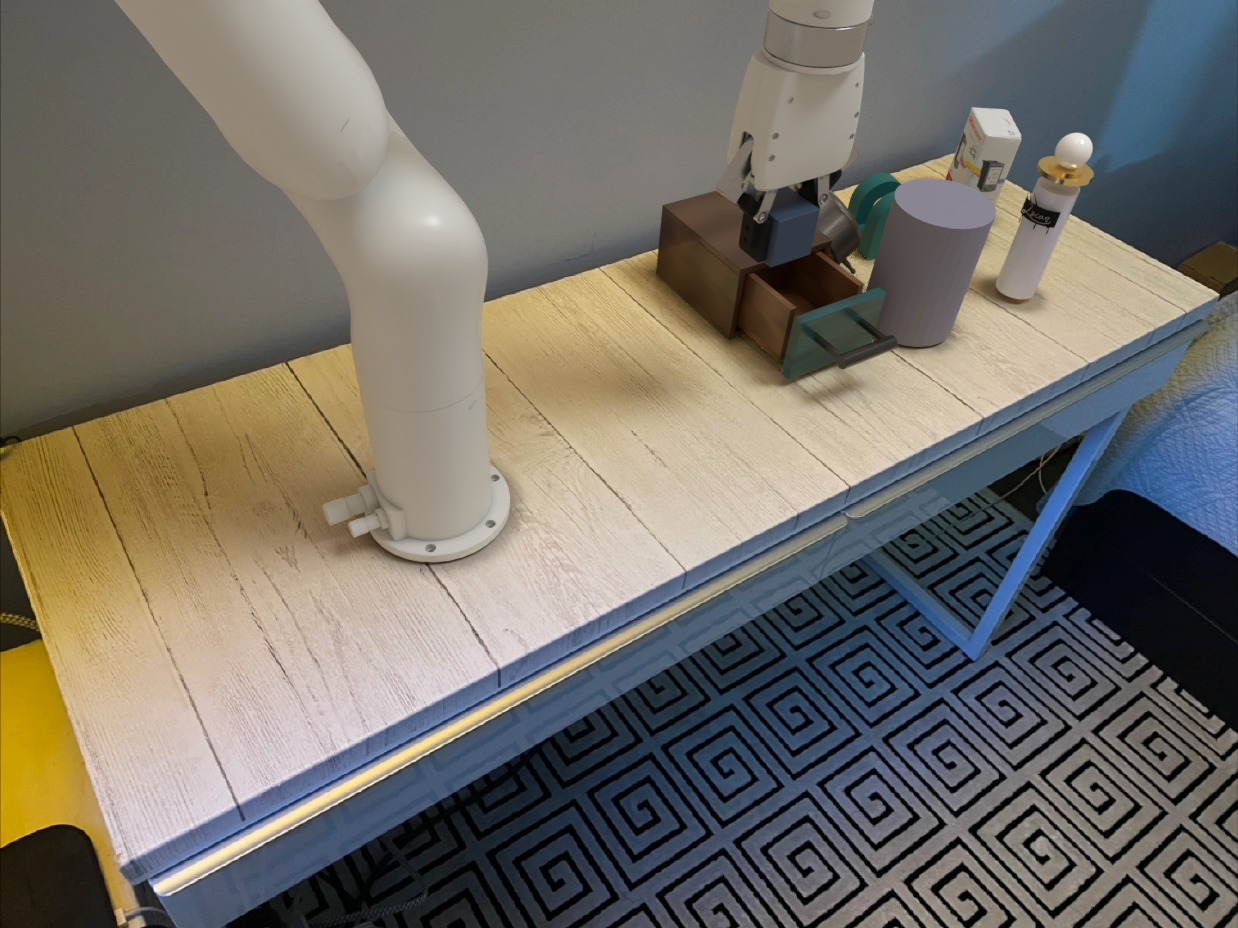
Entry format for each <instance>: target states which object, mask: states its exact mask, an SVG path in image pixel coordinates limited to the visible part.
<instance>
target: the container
mask: <svg viewBox="0 0 1238 928" xmlns="http://www.w3.org/2000/svg"><path fill="white" fill-rule="evenodd" d="M996 215H997V210H996V205H995V206H994V205H993V203H992V202H991V201H990V200H989V199H988V198H987V197H986V196H985V195H983V194H982V193H980V192H979V191H977V190H975V189H973V188H971V187H968V186H966V185H963V184H960V183H957V182H953V181H948V180H945V179H942V178H929V177H927V178H917V179H916V178H915V179H911V180H908V181H905V182H903V183H901V185H900V186H899V187H898V188H897V189H896V191H895V194H894V197H893V200H892V204H891V207H890V211H889V214H888V218H887V221H886V224H885V228H884V231H883V235H882V238H881V242H880V245H879V248H878V252H877V255H876V259H874V263H873V266H872V269H871V273H870V276H869V279H868V283H867V286H866V290H865V292H866V291H869V290H871V289H874V288H877V287H879V288H881V289H882V290H883V291H885V292H886V296H885V299H884V302H883V305H882V309H881V312H880V315H879V318H878V321H877V325H876V329H878V330H879V331H880V332H881V333H883V334H884V335H885V336H886V337H887V336H889V335H893V336H894V337H895V338H896V339H897V342H898V345H902V346H905V347H906V346H907V347H916V348H918V347H919V348H923V347H931V346H934V345H938V344H941V343H943V342H944V341H946V340H947V339H948V337H949V336H950V335H951V333H952V330H953V327H954V325H955V322H956V320H957V317H958V314H959V312H960V309H961V306H962V304H963V302H964V299H965V296H966V294H967V291H968V289H969V286H970V284H971V281H972V278H973V276H974V274H975V271H976V268H977V265H978V263H979V260H980V257H981V255H982V252H983V249H984V247H985V245H986V242H987V240H988V236H989V235H990V231H991V228H992V226H993V223H994V221H995V218H996Z"/></svg>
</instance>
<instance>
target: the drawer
mask: <svg viewBox="0 0 1238 928" xmlns="http://www.w3.org/2000/svg"><path fill="white" fill-rule="evenodd" d="M864 287H865V283H864V282H862V281H861V280H860V279H858V277H856V276H854V274H851V272H850V271H847V270H846V269H845V268H843V267H842V266H841V264H840V265H838V264H837V263H835V262H834V261H833V260H831V259H830V258H829V257H827V256H826V255H825V254H823V253H822V252H821V251H819V250H818V251H815V252H812V253H810V255H807V256H804V257H801V258H798V259H795V260H792V261H789V262H786V263H783V264H780V265H777V266H773V267H769V266H768V267H765V268H762V269H759V270H756V271H753V272H750V273H746V274H745V278H744V284H743V289H742V295H741V301H740V306H739V312H738V318H737V323H736V325H737V326H738V327H739V328H740V329H742V330H743V331H744V332H745V333H746V334H745V335H747V337H749V338H751V340H753V341H754V342H755V343H756V344H757V345H758V346H760V347H761V348H762V349H763V350H764V351H765V352H766V353H767V354H769V356H771V357H772V358H773V359H774V360H775V361H776V362H778V363H782V362H783V364H782V367H781V372H780V375H781V376H782V377H784V378H785V379H786V380H787V381H791V380H793V379H795V378H798V377H800V376H803V375H805V374H808V373H811V372H813V371H816V370H818V369H821V368H824V367H825V366H829V365H830V364H834V363H835V364H836V366H837V367H838V368H839V369H840V370H846V369H848V368H851V367H854V366H856V365H858V364H861V363H863V362H866V361H869V360H872V359H874V358H876V357H879V356H881V355H885V354H886V353H889V352H891V351H895V350H896V349H897V348H898V346H899V344H898V342H897V339H896V338H895V337H894V336H893V335H889V336H887V337H886V336H885V335H884V334H883V333H881V332H880V331H879V330H878V329H876V325H877V321H878V318H879V315H880V312H881V309H882V305H883V302H884V299H885V296H886V292H885V291H883V290H882V289H881V288H879V287H877V288H874V289H871V290H869V291H866V290H865V291H863V290H864ZM873 338H874V339H876V340H874V341H873Z"/></svg>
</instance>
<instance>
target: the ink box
mask: <svg viewBox="0 0 1238 928" xmlns="http://www.w3.org/2000/svg"><path fill="white" fill-rule="evenodd" d="M1021 142H1022V134H1021V132H1020V130H1019V128H1018V126H1017V124H1016V122H1015V121H1014V118H1013V117H1012V115H1011V113H1010V111H1009V110H1008V109H1006V108H1005V109H1004V108H989V107H974V106H972V107H971V108H970V112H969V115H968V117H967V120H966V122H965V126H964V129H963V131H962V134H961V137H960V139H959V142H958V145H957V147H956V150H955V152H954V155H953V157H952V161H951V163H950V166H949V169H948V171H947V174H946V177H945V179H944V180H948V181H953V182H957V183H960V184H963V185H966V186H968V187H971V188H973V189H975V190H977V191H979V192H980V193H982V194H983V195H985V196H986V197H987V198H988V199H989V200H990V201H991V202H992V203H993V205H994V206H995V207H996V205H997V202H998V200H999V197H1000V195H1001V193H1002V190H1003V187H1004V185H1005V182H1006V179H1007V177H1008V174H1009V172H1010V169H1011V168H1012V165H1013V163H1014V159H1015V157H1016V155H1017V152H1018V149H1019V147H1020V145H1021Z"/></svg>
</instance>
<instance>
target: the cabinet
mask: <svg viewBox="0 0 1238 928" xmlns="http://www.w3.org/2000/svg"><path fill="white" fill-rule="evenodd" d="M744 184H745V182H743V183H742V186H741V188H742V189H743V187H744ZM761 193H762V191H759V190H757V193H756V195H758V194H761ZM661 206H662V207H661V217H660V218H661V219H660V229H659V239H658V250H657V257H656V258H657V260H656V268H655V274H656V276H657V277H659V278H660V279H661V280H662V281H663V282H664V283H665V284H666V285H667V286H669V287H670V288H671V289H672V291H674V292H675V293H676V294H677V295H679V296H680V298H681V299H683V300H684V301H685V302H686V303H687V304H688V305H690V306H691V308H692V309H694V310H695V311H696V312H697V313H698V314H699V315H700V316H702V318H704V319H705V320H706V321H707V322H708V323H709V324H710V325H711V326H712V327H714V328H715V330H716V331H718V332H719V333H720V334H721V335H723V337H724V338H726V339H727V340H728V341H731V340H732V339H735V338H738V337H741V336H744V335H747V334H746V333H745V332H744V331H743V330H742V329H740V328H739V327H738V326H737V325H736V323H737V318H738V312H739V306H740V301H741V295H742V289H743V284H744V278H745V274H746V273H750V272H753V271H756V270H759V269H762V268H765V267H768V265H767V264H766V263H764V262H760V263H758V262H756V261H755V260H754V259H753V258H751V257H750V256H749V255H748V254H747V253H745V252H744V251H743V250H742V249H741V248H740V247H739V238H740V231H741V225H742V218H743V211H742V210H741V209H740V208H738V206H737V205H736V204H735V203H734V202H732V201H730V200H729V199H727V198H725V197H724V196H723V195H722V194H720V193H719V192H718V191H717V190H716V189H715V190H712V191H709V192H706V193H702V194H699V195H695V196H690V197H687V198H684V199H680V200H676V201H672V202H667V203H664V204H662V205H661ZM831 245H832V239H830V238H829V237H828V236H826V235H825V234H823V233H822V232H821V231H819V230H818V229H816V230H815V235H814V239H813V244H812V248H811V253H812V252H815V251H818V250H819V251H821V252H822V253H823V254H825V255H826V256H827V257H828V256H829V252H830V248H831Z"/></svg>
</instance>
